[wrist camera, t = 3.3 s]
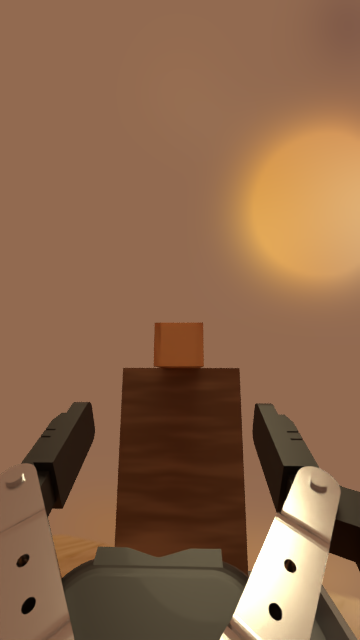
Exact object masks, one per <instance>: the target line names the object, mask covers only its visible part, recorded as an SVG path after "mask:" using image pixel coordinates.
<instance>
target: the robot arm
mask: <svg viewBox="0 0 360 640" xmlns="http://www.w3.org/2000/svg"><path fill="white" fill-rule="evenodd" d="M94 434H95V426H94V419H93V412H92V405H91V403H90V402H74V403H73V404H72V405H71V407H70V408H69V410H68V411H67V413H61V414H60V415H58V416H57V417H56V418H55V419H53V420H52V421H51V423H50V424H49V426H48V427H47V428H46V430H45V431H44V432H43V434H42V435H41V438H39V439H38V441H37V442H36V443H35V445H34V446H33V448H32V449H31V450H30V452H29V453H28V455H27V456H26V457H25V459H24V460H23V461H22V463H21V464H19V465H15V466H13V467H11V468H9V469H7V470H6V471H4V472H3V473H2V474H1V475H0V640H310V637H311V632H312V628H313V623H314V618H315V614H316V609H317V604H318V600H319V595H320V590H321V586H322V581H323V576H324V572H325V567H326V562H327V557H328V553H332V554H335V555H338V556H340V557H343V558H346V559H348V560H351V561H354V562H356V564H357V566H358V569H359V571H360V492H358V491H354V490H351V489H347V488H344V487H342V486H340V485H338V483H337V481H336V480H335V479H334V478H333V477H332V476H331V475H330V474H329V473H327V472H326V471H324V470H322V469H320V468H319V467H318V465H317V463H316V461H315V460H314V458H313V456H312V454H311V453H310V451H309V449H308V447H307V446H306V444H305V442H304V441H303V439H302V437H301V435H300V433H298V430H297V428H296V426H295V425H294V423H293V422H292V421H291V420H290V419H289V418H288V417H286V416H285V415H278V414H277V412H276V410H275V408H274V406H273V404H255V410H254V421H253V440H254V445H255V448H256V451H257V454H258V457H259V460H260V463H261V466H262V469H263V472H264V475H265V478H266V481H267V485H268V487H269V490H270V494H271V497H272V500H273V503H274V506H275V509H276V512H277V515H276V517H275V519H274V522H273V524H272V526H271V529H270V531H269V533H268V535H267V538H266V540H265V542H264V545H263V547H262V549H261V552H260V554H259V557H258V559H257V561H256V563H255V566H254V568H253V570H252V573H251V575H250V577H248V576H247V575H246V574H245V573H244V572H242V571H241V570H239V569H238V568H236V567H235V566H233V565H231V564H229V563H226V562H224V561H222V554H221V549H187V550H184V551H180V552H177V553H173V554H170V555H167V556H163V557H154V556H151V555H149V554H146V553H143V552H140V551H137V550H134V549H131V548H128V547H98V549H97V552H96V556H95V559H93V560H90V561H88V562H85V563H83V564H81V565H80V566H78V567H76V568H74V569H73V570H72V571H70V572H69V573H67V574H66V575H65V576H64V577H63V578H62V577H61V573H60V568H59V564H58V560H57V555H56V551H55V547H54V542H53V538H52V534H51V529H50V525H49V521H48V516H49V514H50V512H51V510H52V508H55V509H62V508H63V506H64V504H65V502H66V500H67V498H68V495H69V493H70V491H71V489H72V486H73V484H74V482H75V480H76V478H77V476H78V473H79V471H80V469H81V467H82V464H83V462H84V460H85V458H86V456H87V453H88V451H89V449H90V447H91V444H92V442H93V439H94Z"/></svg>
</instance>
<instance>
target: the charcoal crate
mask: <svg viewBox="0 0 360 640" xmlns="http://www.w3.org/2000/svg"><path fill="white" fill-rule="evenodd" d="M251 573H252V571H248V577H250V575H251ZM310 640H357V638H356V637H355V635H354V634H353V632H352V630H351V629H350V627H349V626H348V624H347V623H346V621H345V619H344V618H343V616H342V615H341V613H340V612H339V610H338V609H337V607H336V605H335V604H334V602H333V601H332V599H331V598H330V596H329V595H328V593H327V591H326V590H325V588H324V587H323V585H322V586H321V590H320V595H319V600H318V604H317V609H316V614H315V618H314V623H313V628H312V632H311V637H310Z"/></svg>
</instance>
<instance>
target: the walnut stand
mask: <svg viewBox="0 0 360 640" xmlns="http://www.w3.org/2000/svg"><path fill="white" fill-rule="evenodd" d="M116 511H117V512H116V532H115V547H128V548H131V549H134V550H137V551H140V552H143V553H146V554H149V555H151V556H154V557H163V556H167V555H170V554H173V553H177V552H180V551H184V550H187V549H221V554H222V561H224V562H226V563H229V564H231V565H233V566H235V567H236V568H238V569H239V570H241V571H242V572H244V573H245V574H246V575H247V576H248V561H247V537H246V515H245V514H246V513H245V491H244V467H243V443H242V419H241V397H240V372H239V368H123V385H122V405H121V427H120V448H119V468H118V489H117V510H116Z"/></svg>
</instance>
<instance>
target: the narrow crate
mask: <svg viewBox="0 0 360 640" xmlns="http://www.w3.org/2000/svg"><path fill="white" fill-rule="evenodd" d="M203 357H204V355H203V323H155V337H154V366H155V367H159V368H201V367H203V366H204V358H203Z"/></svg>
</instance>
